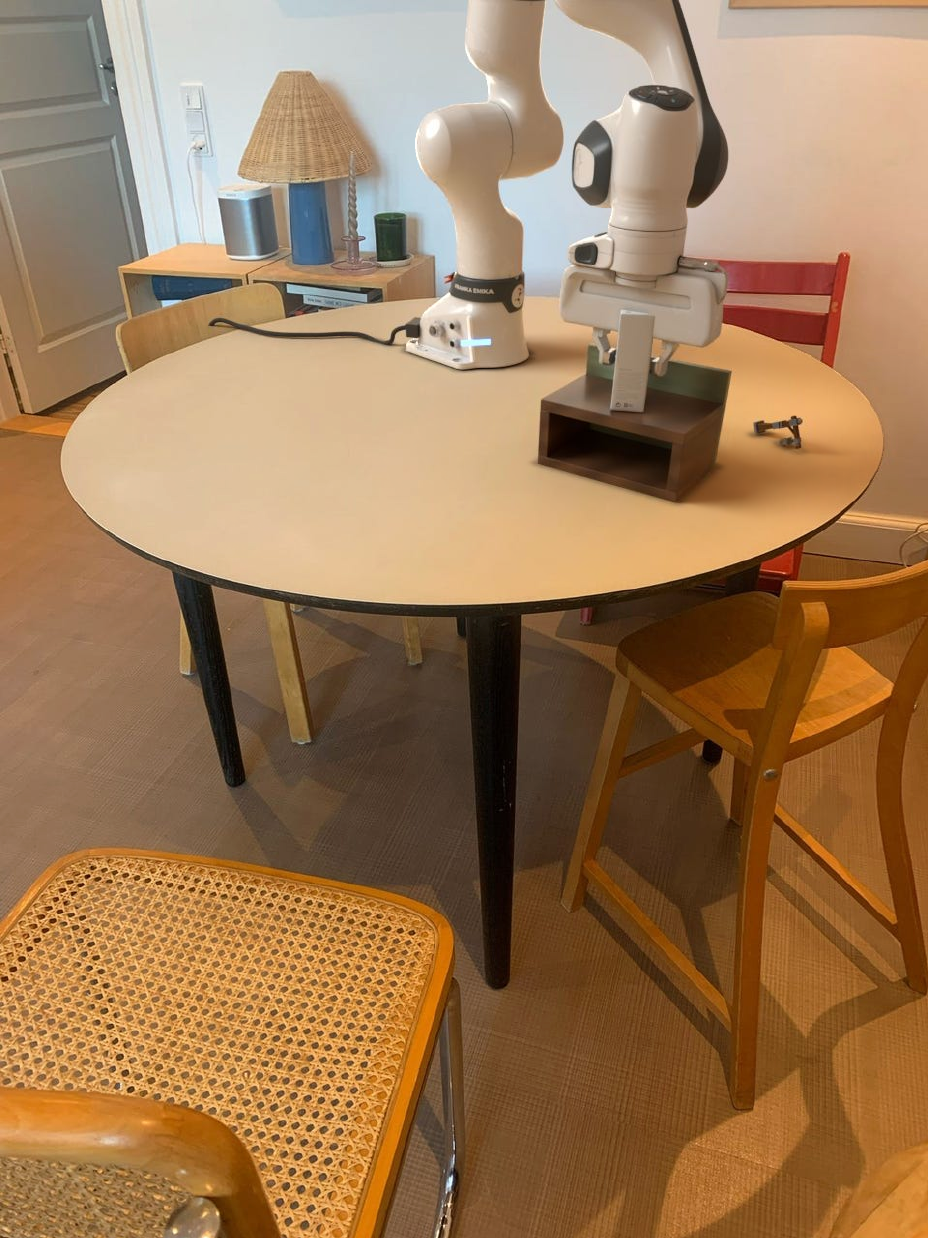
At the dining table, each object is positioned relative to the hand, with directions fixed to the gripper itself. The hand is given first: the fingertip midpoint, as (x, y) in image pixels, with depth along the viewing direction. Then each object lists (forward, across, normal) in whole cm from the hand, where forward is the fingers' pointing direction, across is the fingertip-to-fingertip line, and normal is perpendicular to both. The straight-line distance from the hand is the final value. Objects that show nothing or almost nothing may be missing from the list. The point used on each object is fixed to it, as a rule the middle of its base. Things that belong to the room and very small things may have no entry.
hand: (631, 369), depth 108 cm
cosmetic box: (+5, 0, 0) cm, 5 cm away
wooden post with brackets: (+14, -14, -21) cm, 29 cm away
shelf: (+14, 0, -1) cm, 14 cm away
